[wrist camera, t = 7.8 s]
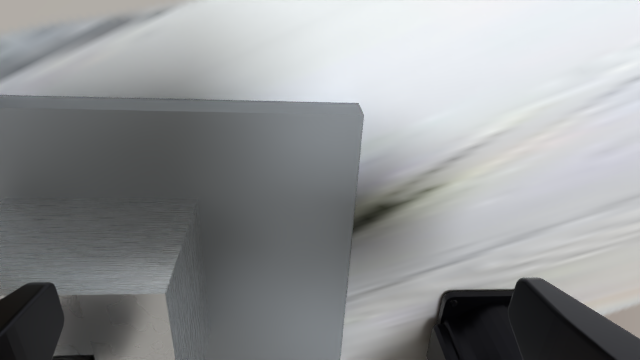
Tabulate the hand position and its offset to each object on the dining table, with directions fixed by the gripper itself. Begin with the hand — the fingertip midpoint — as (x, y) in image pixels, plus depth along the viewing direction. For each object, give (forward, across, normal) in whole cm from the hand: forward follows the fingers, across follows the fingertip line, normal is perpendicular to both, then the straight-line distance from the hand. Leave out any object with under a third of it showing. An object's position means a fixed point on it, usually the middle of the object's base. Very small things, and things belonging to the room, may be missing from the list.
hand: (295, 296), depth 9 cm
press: (+10, +8, +8) cm, 15 cm away
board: (+12, +8, +8) cm, 16 cm away
